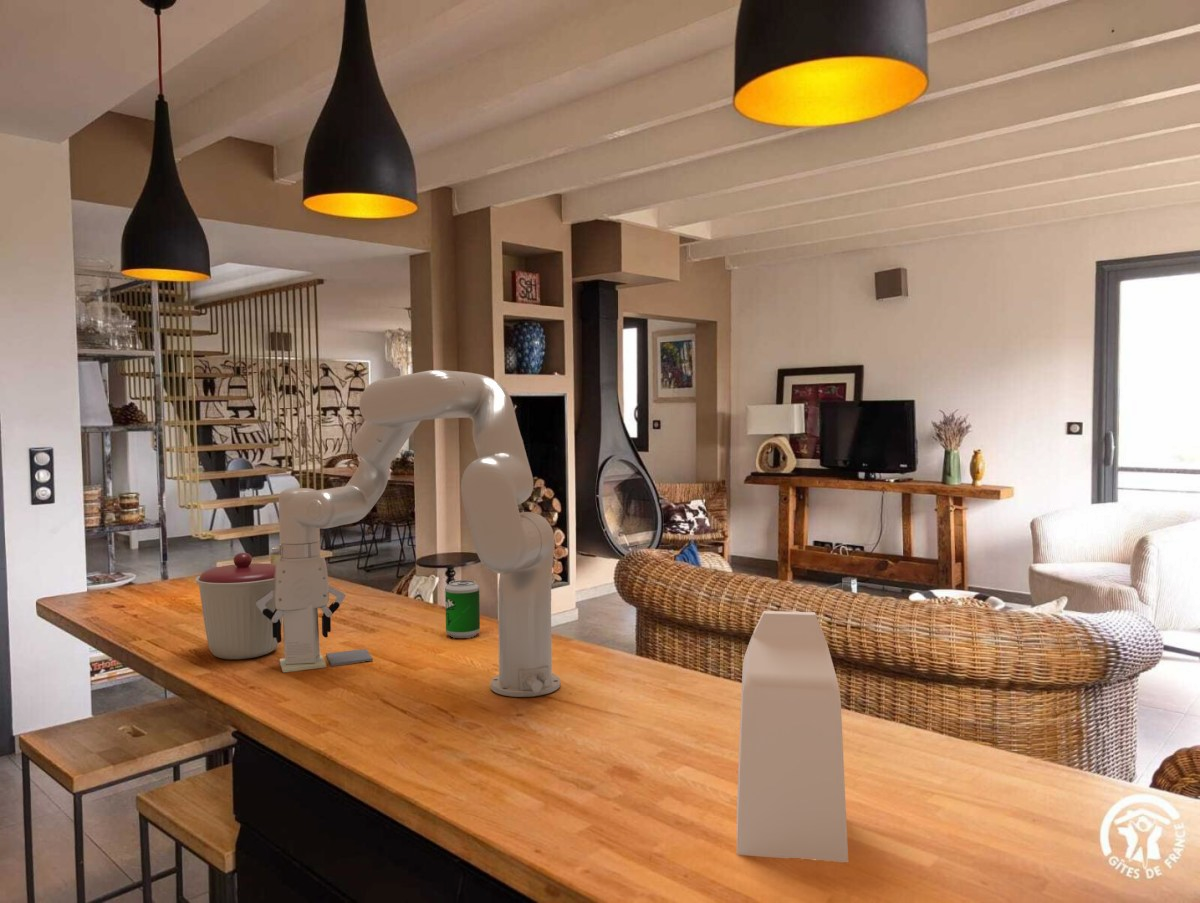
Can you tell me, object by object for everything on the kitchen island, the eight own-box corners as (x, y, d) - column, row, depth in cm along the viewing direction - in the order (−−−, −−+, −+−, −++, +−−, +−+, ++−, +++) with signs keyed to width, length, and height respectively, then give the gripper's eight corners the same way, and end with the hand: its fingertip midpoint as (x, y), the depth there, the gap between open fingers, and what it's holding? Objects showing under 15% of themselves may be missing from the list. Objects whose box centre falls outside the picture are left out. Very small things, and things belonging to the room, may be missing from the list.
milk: (736, 854, 96) (736, 623, 94) (736, 808, 107) (736, 600, 106) (848, 862, 94) (849, 626, 93) (836, 814, 105) (837, 603, 104)
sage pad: (326, 667, 169) (326, 664, 169) (282, 672, 165) (282, 669, 165) (321, 656, 176) (321, 654, 176) (279, 661, 173) (279, 658, 172)
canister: (211, 671, 166) (208, 563, 165) (186, 652, 180) (184, 552, 179) (303, 654, 178) (301, 553, 177) (273, 637, 192) (271, 543, 191)
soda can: (483, 631, 196) (482, 579, 195) (475, 640, 188) (474, 586, 188) (451, 631, 197) (450, 579, 196) (441, 639, 189) (441, 585, 189)
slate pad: (372, 661, 172) (372, 658, 172) (331, 666, 169) (331, 663, 169) (365, 651, 180) (365, 648, 180) (326, 656, 176) (326, 653, 176)
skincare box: (320, 657, 173) (319, 598, 172) (315, 664, 169) (314, 603, 168) (288, 659, 172) (287, 599, 172) (283, 665, 168) (281, 604, 167)
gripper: (253, 557, 163) (256, 648, 163) (348, 550, 170) (350, 637, 171) (251, 551, 169) (253, 639, 170) (342, 545, 177) (344, 629, 177)
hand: (302, 638), depth 170 cm, fingers open, 8 cm apart
